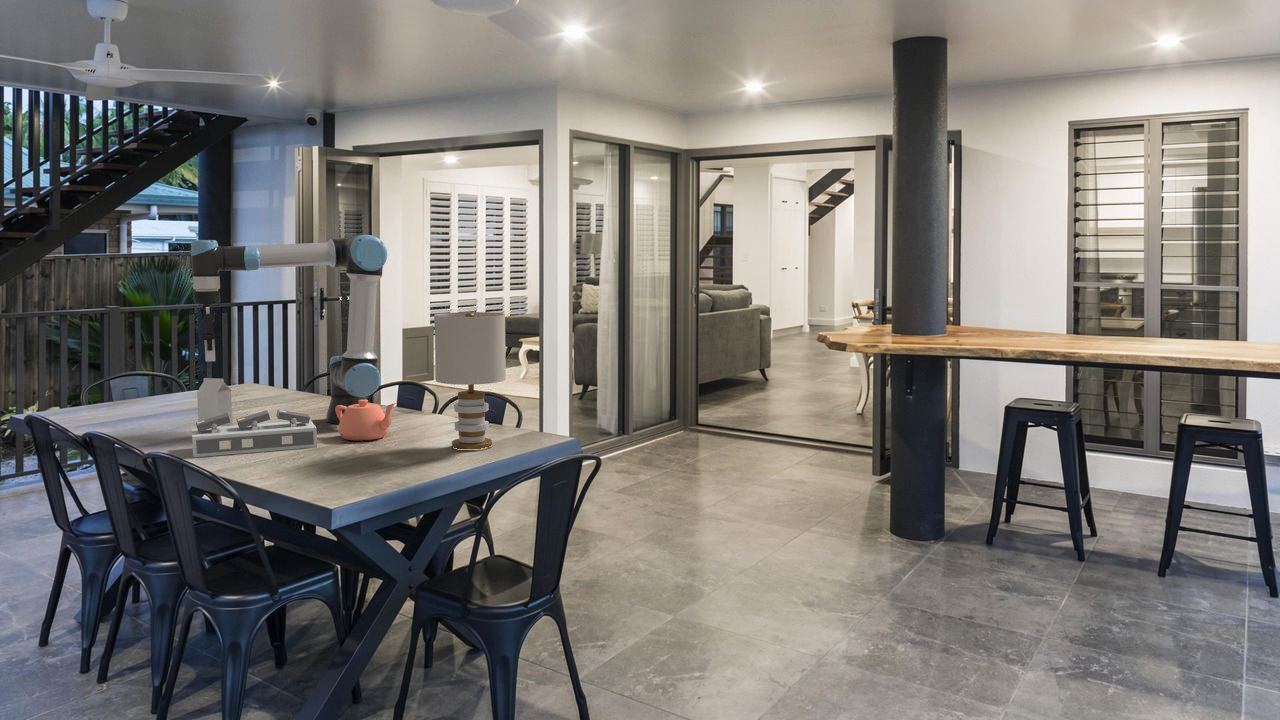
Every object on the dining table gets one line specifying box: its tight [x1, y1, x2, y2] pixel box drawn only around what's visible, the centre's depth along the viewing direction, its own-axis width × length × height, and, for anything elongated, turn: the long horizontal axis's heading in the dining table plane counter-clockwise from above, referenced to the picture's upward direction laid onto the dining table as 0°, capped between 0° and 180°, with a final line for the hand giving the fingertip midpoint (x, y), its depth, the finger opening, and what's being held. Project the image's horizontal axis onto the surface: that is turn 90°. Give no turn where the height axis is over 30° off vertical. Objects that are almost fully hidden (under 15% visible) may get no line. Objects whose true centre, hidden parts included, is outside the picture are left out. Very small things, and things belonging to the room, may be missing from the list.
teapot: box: [335, 399, 397, 441], centre depth 295 cm, size 22×15×12 cm
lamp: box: [433, 311, 507, 449], centre depth 281 cm, size 21×21×41 cm
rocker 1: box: [195, 413, 230, 432], centre depth 275 cm, size 9×6×3 cm
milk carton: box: [196, 377, 234, 427], centre depth 295 cm, size 7×7×19 cm
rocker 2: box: [275, 409, 311, 424], centre depth 285 cm, size 9×6×3 cm
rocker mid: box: [236, 409, 271, 429], centre depth 280 cm, size 9×6×3 cm
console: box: [191, 419, 318, 458], centre depth 280 cm, size 34×15×7 cm, turn 116°
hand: (210, 358), depth 288 cm, fingers open, 13 cm apart
